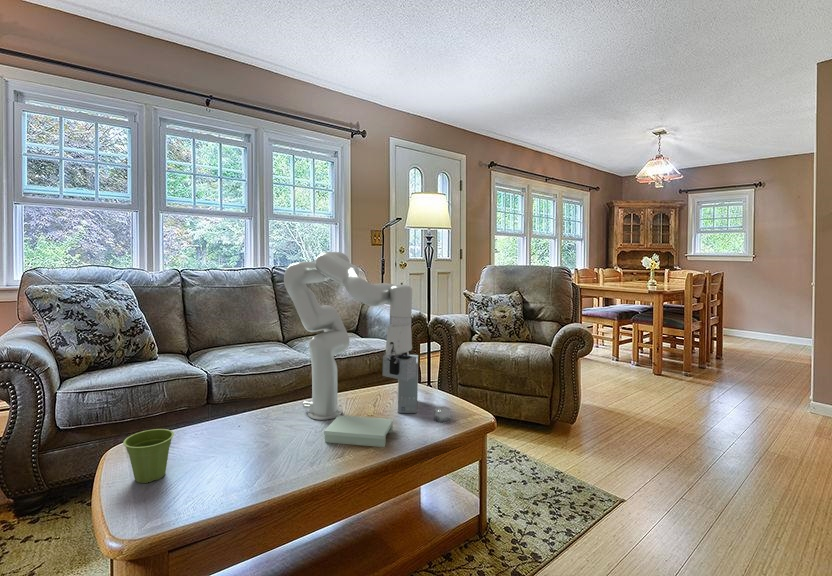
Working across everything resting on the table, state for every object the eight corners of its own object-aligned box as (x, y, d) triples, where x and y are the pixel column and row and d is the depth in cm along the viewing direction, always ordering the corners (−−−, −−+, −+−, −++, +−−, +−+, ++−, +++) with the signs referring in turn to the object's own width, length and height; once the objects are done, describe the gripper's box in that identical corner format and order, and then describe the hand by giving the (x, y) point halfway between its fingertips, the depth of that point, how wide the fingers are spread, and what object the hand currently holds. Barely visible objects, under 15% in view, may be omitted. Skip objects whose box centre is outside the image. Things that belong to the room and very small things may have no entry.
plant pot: (120, 492, 112) (118, 450, 111) (129, 471, 122) (128, 432, 121) (172, 483, 116) (171, 442, 115) (177, 463, 127) (176, 426, 126)
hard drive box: (417, 414, 168) (417, 363, 166) (397, 413, 168) (397, 363, 166) (417, 400, 183) (418, 354, 182) (399, 400, 183) (400, 353, 182)
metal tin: (433, 422, 160) (433, 411, 160) (435, 416, 166) (435, 406, 165) (449, 423, 159) (449, 412, 159) (450, 417, 165) (450, 407, 164)
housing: (382, 375, 151) (382, 356, 150) (391, 371, 156) (392, 352, 155) (406, 380, 146) (407, 360, 145) (415, 376, 151) (416, 357, 150)
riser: (324, 442, 142) (324, 431, 141) (338, 426, 155) (338, 415, 155) (383, 447, 138) (383, 435, 138) (393, 430, 152) (393, 419, 152)
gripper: (404, 316, 159) (403, 364, 160) (376, 323, 144) (375, 375, 145) (422, 318, 155) (420, 368, 156) (395, 325, 140) (394, 379, 142)
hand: (399, 371), depth 151 cm, fingers closed on housing, 6 cm apart
